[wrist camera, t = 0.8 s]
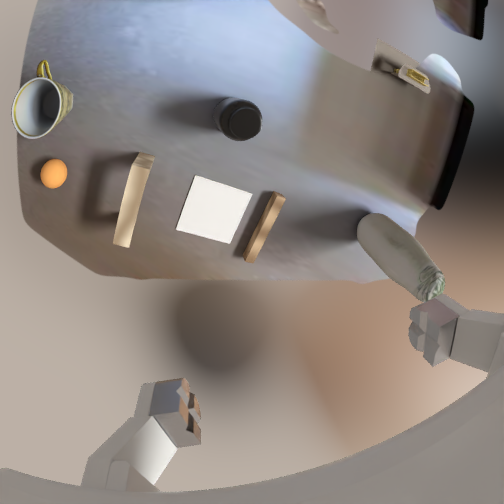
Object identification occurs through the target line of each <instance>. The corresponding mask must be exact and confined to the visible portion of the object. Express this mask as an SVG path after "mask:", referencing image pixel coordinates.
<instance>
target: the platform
mask: <svg viewBox="0 0 504 504" xmlns="http://www.w3.org/2000/svg"><path fill="white" fill-rule="evenodd" d="M418 65H420V63H419V62H417V61H416V60H414V59H412V58H411V57H409V56H408V55H406V54H404V53H403V52H401V51H399V50H398V49H396V48H394V47H392V46H391V45H389V44H387V43H385V42H383V41H382V40H380V39H377V43H376V48H375V53H374V57H373V62H372V66H371V72H375V73H379V74H389V73H391V74H393V75H395V76H397V77H399V78H400V79H402V80H404V81H406V82H407V83H409V84H411V85H413V86H415V87H417V88H419V89H421V90H422V91H424V92H425V93H429V92H430V85H429V81H428V80H429V79H428V78H427V76H426V75H425V74H423V73H422V72H420V71H418V70H417V69H415V68H416V67H417V66H418ZM417 77H418V78H417ZM419 77H420V78H419ZM421 78H422V79H421Z"/></svg>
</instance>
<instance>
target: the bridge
mask: <svg viewBox="0 0 504 504" xmlns="http://www.w3.org/2000/svg"><path fill="white" fill-rule="evenodd" d="M154 158H155V156H153V155H149V154H146V153H142V152H140V153H139V154H138V156H137V158H136V159H135V161H134V162H133V164H132V167H131V170H130V174H129V177H128V181H127V185H126V188H125V192H124V196H123V200H122V204H121V208H120V213H119V217H118V221H117V226H116V231H115V236H114V241H113V244H116V245H120V246H124V247H128V248H129V245H130V241H131V237H132V233H133V230H134V226H135V222H136V218H137V213H138V209H139V206H140V202H141V199H142V195H143V192H144V188H145V185H146V182H147V178H148V176H149V173H150V170H151V167H152V164H153V161H154Z"/></svg>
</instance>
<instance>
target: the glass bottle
mask: <svg viewBox="0 0 504 504" xmlns="http://www.w3.org/2000/svg"><path fill="white" fill-rule="evenodd" d="M357 238H358V241H359V243H360V245H361V246H362V248H363V249H364V250H365V251H366V253H367V254H368V255H369V256H370V257H371V258H372V259H373V260H374V261H375V263H376V264H377V265H378V266H379V267H380V268H381V269H382V270H383V272H384V273H385V274H386V275H387V276H388V277H389V278H391V279H392V280H393V281H395V282H396V283H398V284H399V285H401V286H402V287H404V288H406V289H407V290H408V291H409V292H410V293H411V294H413V295H414V296H415V297H416V298H417V299H418V300H420V301H422V302H426V301H428V300H431V299H432V298H434V297H436V296H438V295H440V294H442V293H443V291H444V287H445V278H444V275H443V273H442V272H441V270H440V269H439V268H438V267H437V266H436V265H435V263H434V262H433V261H432V260H431V259H430V257H429V255H428V254H427V252H426V251H425V249H424V248H423V247H422V245H421V244H420V243H419V242H418V241H417V240H416V239H415V238H414V237H413V236H412V235H411V234H409V233H408V232H407V231H406V230H404V229H403V228H402V227H400V226H399V225H398V224H396V223H395V222H394V221H393V220H391V219H390V218H389V217H387V216H385V215H383V214H379V213H372V214H368V215H366V216H365V217H363V218H362V219H361V221H360V222H359V224H358V227H357Z"/></svg>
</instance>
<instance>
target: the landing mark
mask: <svg viewBox="0 0 504 504" xmlns="http://www.w3.org/2000/svg"><path fill="white" fill-rule="evenodd" d="M251 196H252V193H249V192H246V191H243V190H240V189H237V188H234V187H231V186H228V185H225V184H222V183H219V182H216V181H212V180H209V179H206V178H203V177H200V176H197V175H195V178H194V180H193V183H192V186H191V188H190V191H189V194H188V197H187V199H186V202H185V205H184V208H183V210H182V213H181V216H180V219H179V222H178V225H177V228H176V230H180V231H184V232H187V233H191V234H195V235H199V236H202V237H206V238H210V239H214V240H217V241H221V242H225V243H229V244H230V242H231V240H232V238H233V236H234V233H235V231H236V229H237V227H238V224H239V222H240V220H241V218H242V216H243V213H244V211H245V209H246V207H247V205H248V203H249V200H250V198H251Z"/></svg>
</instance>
